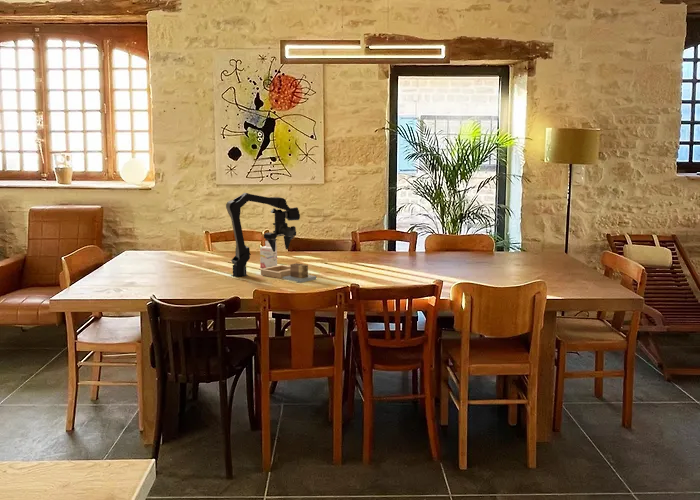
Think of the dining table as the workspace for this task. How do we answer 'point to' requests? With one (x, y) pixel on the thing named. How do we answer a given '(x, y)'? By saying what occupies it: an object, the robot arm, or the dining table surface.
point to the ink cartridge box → (268, 256)
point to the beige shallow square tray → (276, 271)
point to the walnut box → (299, 270)
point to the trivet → (300, 278)
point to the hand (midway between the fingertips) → (280, 250)
